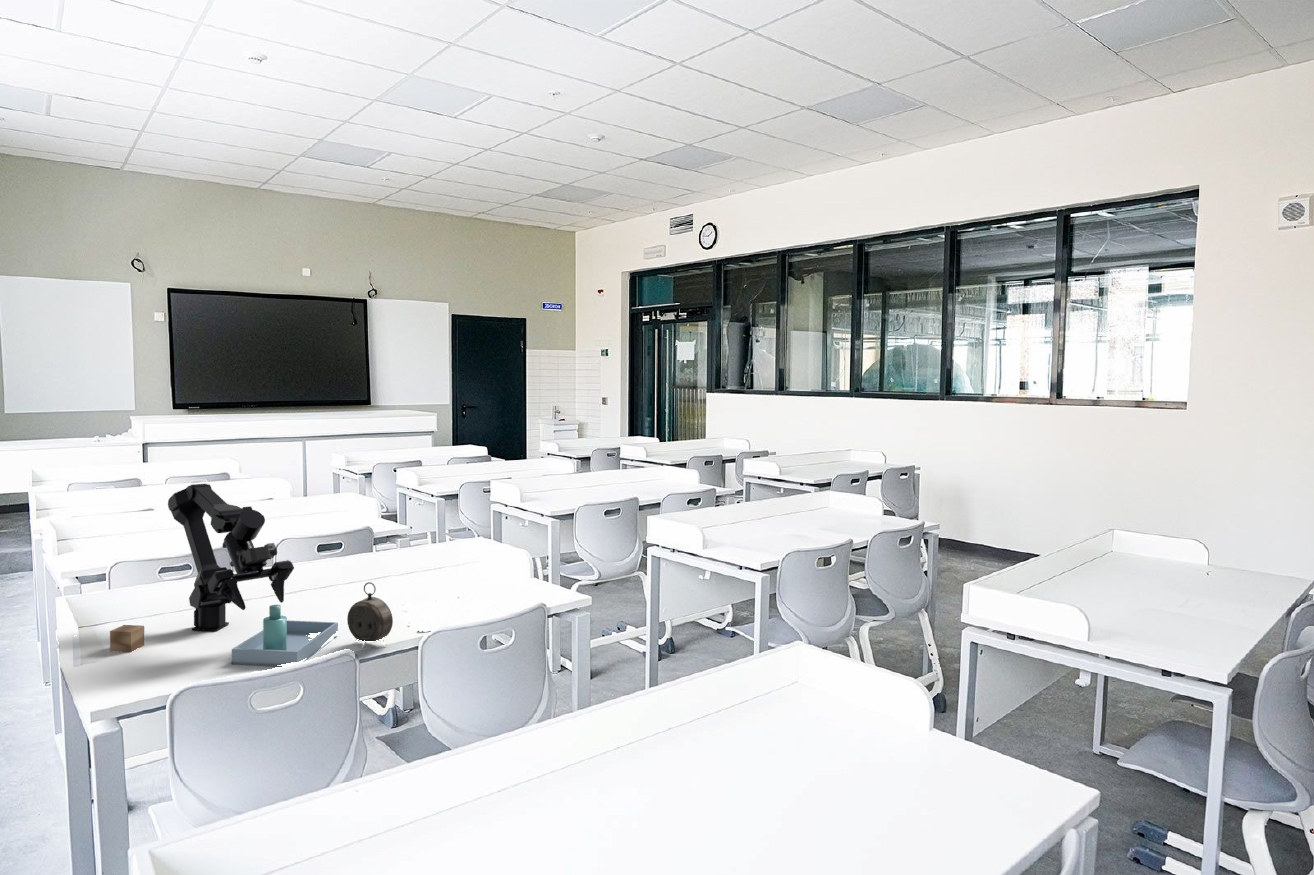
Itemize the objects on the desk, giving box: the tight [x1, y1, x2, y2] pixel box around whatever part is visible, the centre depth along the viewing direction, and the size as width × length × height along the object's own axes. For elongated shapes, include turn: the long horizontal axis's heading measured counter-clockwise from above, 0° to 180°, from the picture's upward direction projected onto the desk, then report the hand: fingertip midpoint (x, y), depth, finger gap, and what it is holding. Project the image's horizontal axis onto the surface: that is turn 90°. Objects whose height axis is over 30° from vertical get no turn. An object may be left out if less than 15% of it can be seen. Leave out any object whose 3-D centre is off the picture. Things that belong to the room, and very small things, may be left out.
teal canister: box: [262, 604, 288, 651], centre depth 193 cm, size 5×5×12 cm
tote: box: [231, 619, 339, 667], centre depth 200 cm, size 15×23×4 cm, turn 179°
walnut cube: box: [109, 624, 145, 653], centre depth 197 cm, size 5×5×5 cm
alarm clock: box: [347, 581, 394, 642], centre depth 204 cm, size 11×5×16 cm, turn 71°
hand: (263, 605), depth 196 cm, fingers open, 9 cm apart
